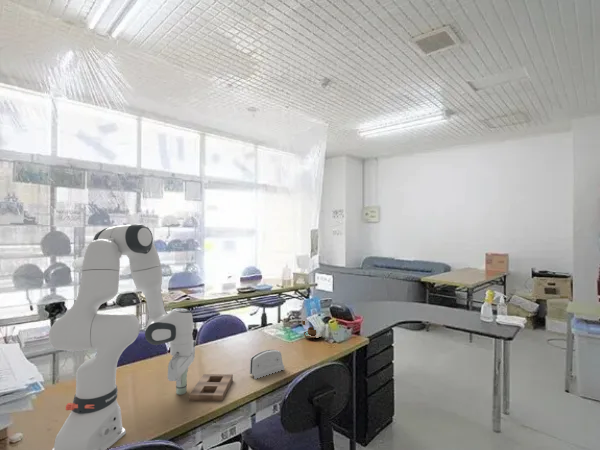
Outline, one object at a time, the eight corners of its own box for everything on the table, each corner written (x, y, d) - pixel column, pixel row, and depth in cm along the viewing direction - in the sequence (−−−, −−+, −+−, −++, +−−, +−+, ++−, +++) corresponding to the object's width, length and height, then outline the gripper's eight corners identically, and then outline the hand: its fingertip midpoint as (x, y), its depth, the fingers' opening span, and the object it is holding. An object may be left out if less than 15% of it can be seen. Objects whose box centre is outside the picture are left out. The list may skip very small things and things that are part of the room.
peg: (184, 394, 135) (184, 372, 135) (174, 394, 135) (174, 372, 135) (188, 389, 139) (188, 368, 139) (178, 389, 139) (178, 368, 139)
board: (222, 401, 130) (222, 395, 130) (189, 401, 130) (189, 395, 130) (232, 380, 148) (232, 374, 148) (203, 379, 148) (203, 374, 148)
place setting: (297, 339, 202) (297, 329, 202) (301, 328, 222) (301, 319, 222) (326, 340, 200) (326, 330, 200) (327, 329, 220) (327, 320, 220)
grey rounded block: (254, 379, 148) (253, 356, 149) (249, 376, 152) (247, 354, 153) (285, 369, 158) (283, 348, 159) (279, 367, 162) (278, 346, 163)
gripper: (179, 358, 126) (179, 394, 126) (197, 339, 147) (197, 371, 147) (163, 358, 127) (163, 394, 127) (183, 339, 147) (183, 370, 147)
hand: (181, 381), depth 137 cm, fingers closed on peg, 4 cm apart
